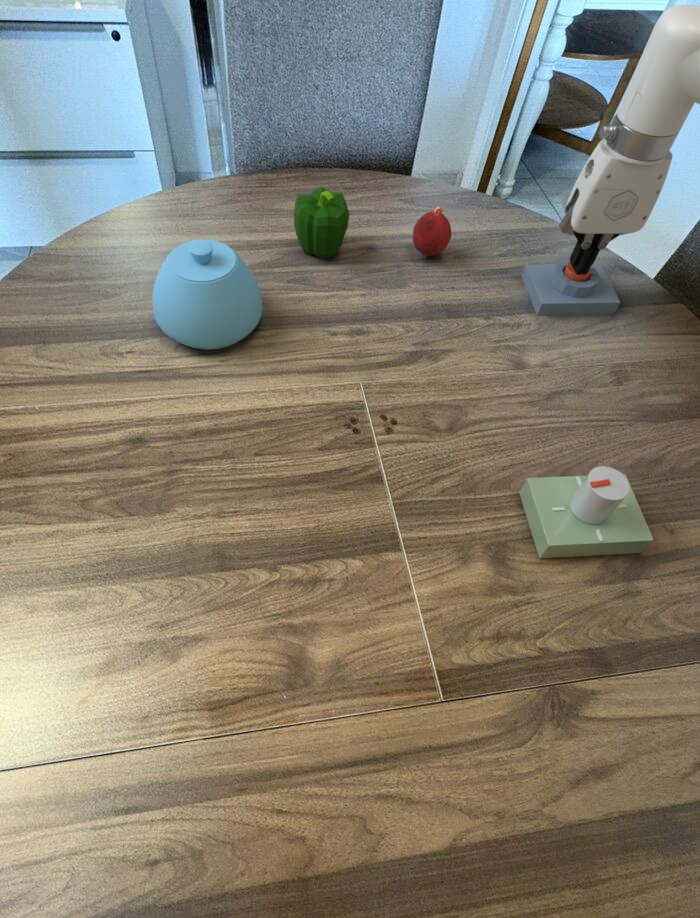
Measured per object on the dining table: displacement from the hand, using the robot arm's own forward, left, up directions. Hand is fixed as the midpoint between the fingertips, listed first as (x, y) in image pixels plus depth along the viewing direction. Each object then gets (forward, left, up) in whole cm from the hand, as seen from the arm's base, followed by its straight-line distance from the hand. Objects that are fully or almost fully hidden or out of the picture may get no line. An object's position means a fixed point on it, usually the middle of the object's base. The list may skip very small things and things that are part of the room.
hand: (578, 267), depth 90 cm
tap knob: (+11, +40, -2) cm, 42 cm away
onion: (+20, -10, -5) cm, 23 cm away
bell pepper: (+37, -12, -5) cm, 39 cm away
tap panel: (+11, +40, -5) cm, 42 cm away
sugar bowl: (+54, +4, -5) cm, 54 cm away
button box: (0, 0, -5) cm, 5 cm away
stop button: (0, 0, -2) cm, 2 cm away
